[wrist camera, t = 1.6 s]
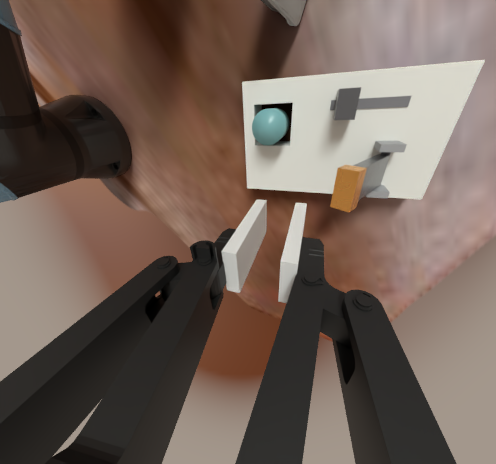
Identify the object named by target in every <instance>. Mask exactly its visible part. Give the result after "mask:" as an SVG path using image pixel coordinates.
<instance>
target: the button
mask: <svg viewBox="0 0 496 464" xmlns="http://www.w3.org/2000/svg"><path fill="white" fill-rule="evenodd" d="M288 129H289V117H288V115H287V114H286V112H285V111H284V110H282V109H280V108H269V109H263V110H261V111H260V112H259V113H257V115H256V116H255V118H254V120H253V123H252V132H253V135H254V137H255V139H256V140H257V141H258V142H259V143H260V144H262V145H273V144H275V143H276V142H278V141H279V140H280V139H281V138H282V137H283V136H284V135H285V134H286V133H287V131H288Z"/></svg>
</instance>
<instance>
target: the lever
mask: <svg viewBox="0 0 496 464" xmlns="http://www.w3.org/2000/svg"><path fill="white" fill-rule="evenodd" d="M390 154H391V152H381V154H377V155H375V156H373V157H371V158H369V159H366V160H364V161H362V162H360V163H358V164H355V165H353V166H351V165H344V166H341V167H339V168H338V169H337V174H336V179H335V185H334V190H333V195H332V200H331V205H330V207H332V208H336V209H339V210H342V211H346V212H351V211H352V210H353V209H355V208H356V207H357V203H358V201H359V200H360V199H361V198H363V197H364V196H366V195H367V194H368V193H370V192H371V191H373V190H374V189H375V188H377V187H378V186H380V185H381V182H382V179H383V176H384V173H385V170H386V167H387V164H388V161H389V157H390Z"/></svg>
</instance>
